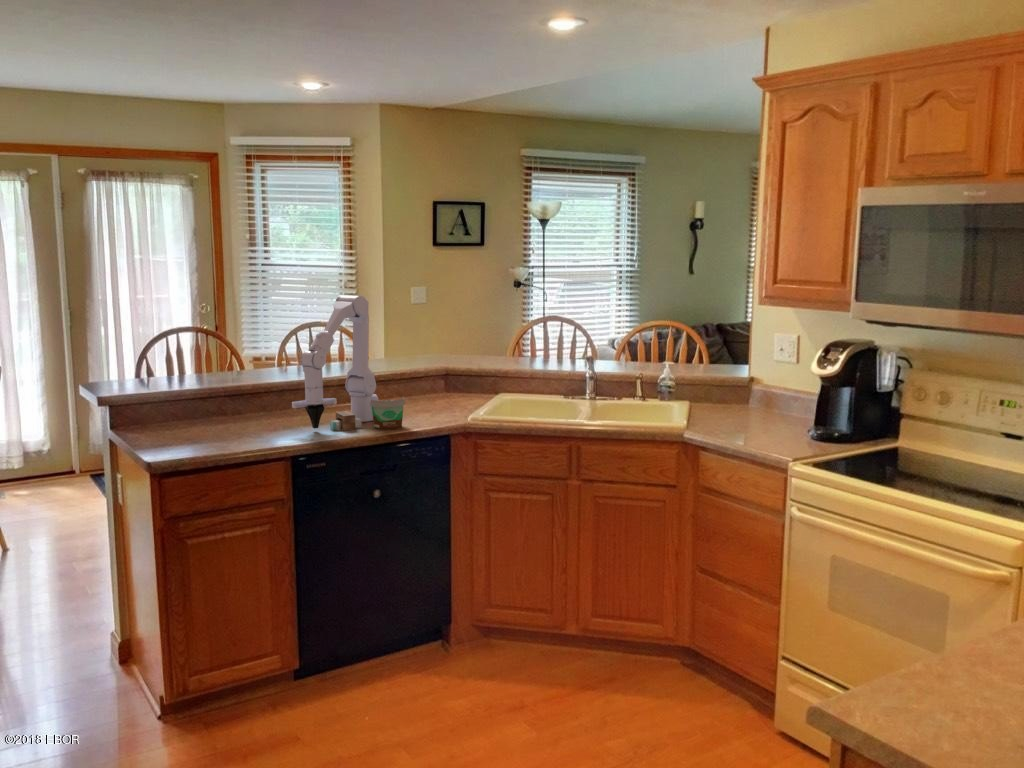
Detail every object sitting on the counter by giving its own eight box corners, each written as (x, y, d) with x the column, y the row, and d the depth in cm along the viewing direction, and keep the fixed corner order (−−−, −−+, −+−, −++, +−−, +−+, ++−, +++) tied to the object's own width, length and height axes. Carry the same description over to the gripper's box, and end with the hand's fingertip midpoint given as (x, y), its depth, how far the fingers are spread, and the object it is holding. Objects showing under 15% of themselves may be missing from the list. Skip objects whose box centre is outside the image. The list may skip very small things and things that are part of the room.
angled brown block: (347, 425, 296) (346, 410, 295) (355, 429, 289) (355, 414, 289) (336, 426, 294) (335, 412, 293) (344, 430, 287) (343, 416, 287)
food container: (376, 432, 285) (375, 402, 283) (370, 429, 290) (369, 399, 289) (411, 428, 290) (410, 399, 289) (404, 425, 296) (404, 396, 294)
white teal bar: (358, 425, 295) (358, 417, 295) (361, 427, 293) (361, 419, 293) (330, 429, 290) (330, 420, 290) (333, 430, 288) (332, 422, 288)
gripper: (295, 390, 277) (297, 432, 279) (339, 386, 284) (340, 427, 287) (289, 387, 283) (290, 428, 285) (332, 384, 290) (333, 423, 293)
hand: (315, 427), depth 286 cm, fingers closed
